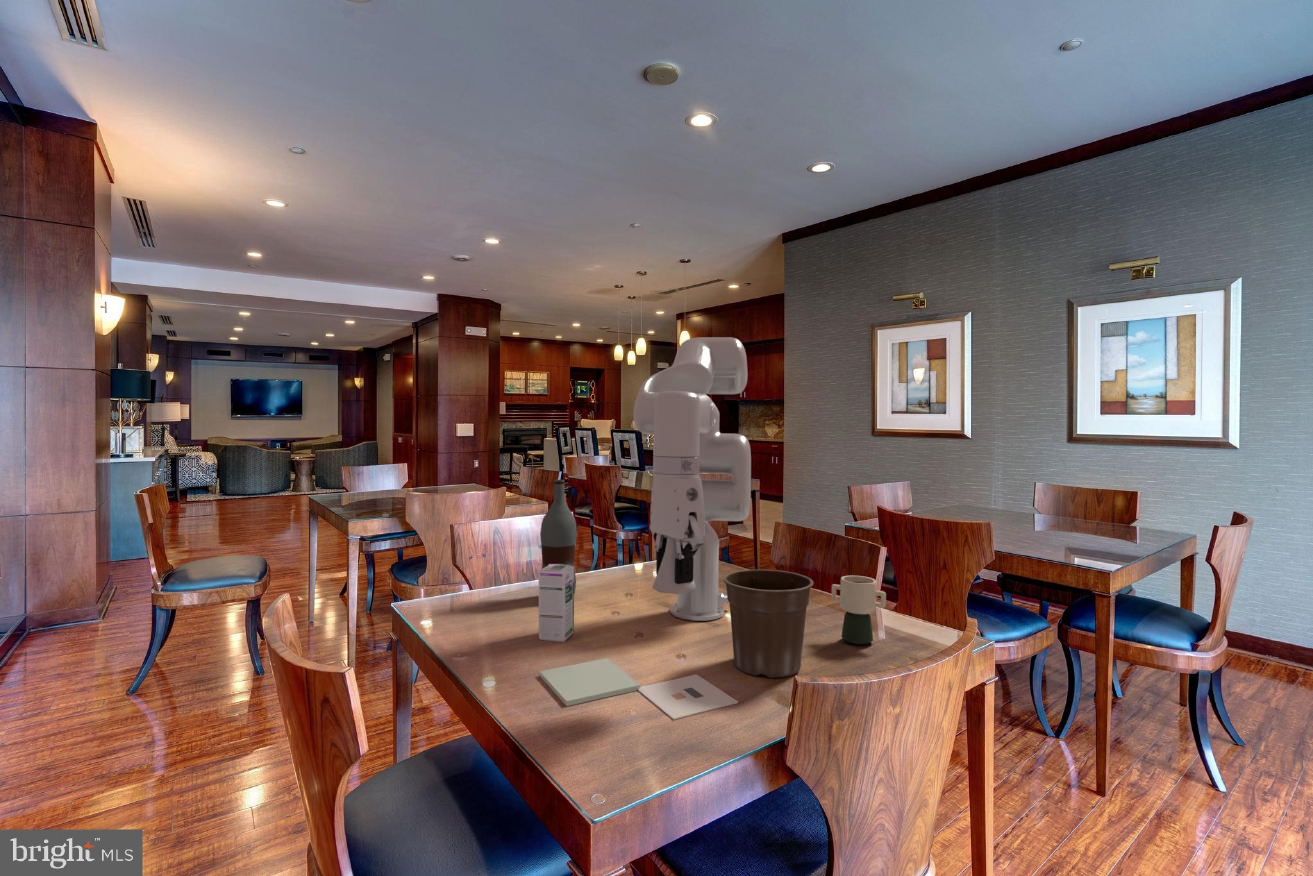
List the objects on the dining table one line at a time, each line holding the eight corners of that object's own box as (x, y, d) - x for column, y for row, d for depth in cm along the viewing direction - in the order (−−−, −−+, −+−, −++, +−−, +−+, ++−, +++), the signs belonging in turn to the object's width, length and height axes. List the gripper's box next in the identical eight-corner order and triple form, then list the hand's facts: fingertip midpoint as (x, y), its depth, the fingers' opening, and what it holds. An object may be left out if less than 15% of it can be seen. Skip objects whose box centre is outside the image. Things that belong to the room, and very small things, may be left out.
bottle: (577, 603, 149) (579, 481, 148) (539, 604, 147) (541, 481, 147) (574, 592, 158) (576, 478, 158) (538, 594, 156) (540, 478, 156)
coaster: (607, 662, 112) (607, 658, 112) (640, 689, 100) (640, 684, 100) (539, 675, 105) (539, 671, 105) (566, 706, 94) (566, 701, 94)
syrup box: (564, 642, 122) (565, 570, 121) (537, 640, 123) (538, 569, 123) (574, 633, 127) (575, 564, 127) (547, 630, 128) (548, 562, 128)
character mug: (888, 642, 125) (889, 579, 125) (881, 652, 119) (882, 587, 119) (835, 632, 131) (836, 572, 130) (825, 641, 125) (827, 579, 124)
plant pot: (703, 660, 113) (705, 575, 113) (764, 643, 123) (765, 564, 123) (768, 692, 100) (770, 595, 100) (829, 670, 110) (831, 582, 110)
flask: (650, 583, 102) (651, 524, 102) (692, 583, 103) (693, 524, 102) (654, 595, 95) (655, 532, 95) (699, 595, 95) (701, 532, 95)
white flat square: (696, 675, 106) (696, 674, 106) (738, 703, 96) (738, 701, 96) (636, 689, 100) (636, 687, 100) (673, 720, 90) (673, 718, 90)
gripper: (726, 470, 93) (724, 588, 93) (668, 463, 107) (666, 565, 108) (685, 472, 89) (683, 594, 89) (631, 464, 104) (629, 570, 104)
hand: (674, 577), depth 99 cm, fingers closed on flask, 4 cm apart
